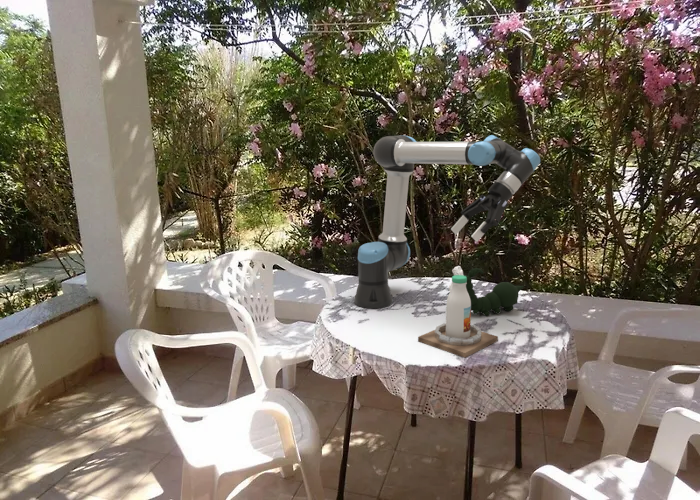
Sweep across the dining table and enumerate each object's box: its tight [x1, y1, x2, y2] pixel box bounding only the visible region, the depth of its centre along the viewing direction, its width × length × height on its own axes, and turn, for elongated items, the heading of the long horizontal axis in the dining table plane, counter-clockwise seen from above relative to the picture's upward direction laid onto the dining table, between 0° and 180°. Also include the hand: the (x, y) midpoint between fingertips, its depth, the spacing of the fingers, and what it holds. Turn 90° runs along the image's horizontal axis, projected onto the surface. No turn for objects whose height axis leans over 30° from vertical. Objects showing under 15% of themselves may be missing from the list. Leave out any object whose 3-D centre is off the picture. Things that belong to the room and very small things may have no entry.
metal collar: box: [434, 322, 483, 346], centre depth 168 cm, size 14×14×2 cm
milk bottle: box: [445, 274, 472, 338], centre depth 166 cm, size 8×8×20 cm
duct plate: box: [417, 329, 499, 358], centre depth 168 cm, size 18×18×2 cm
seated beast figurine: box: [448, 265, 464, 292], centre depth 215 cm, size 10×9×12 cm
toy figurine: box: [464, 267, 524, 317], centre depth 192 cm, size 9×19×25 cm
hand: (463, 235), depth 176 cm, fingers open, 13 cm apart
